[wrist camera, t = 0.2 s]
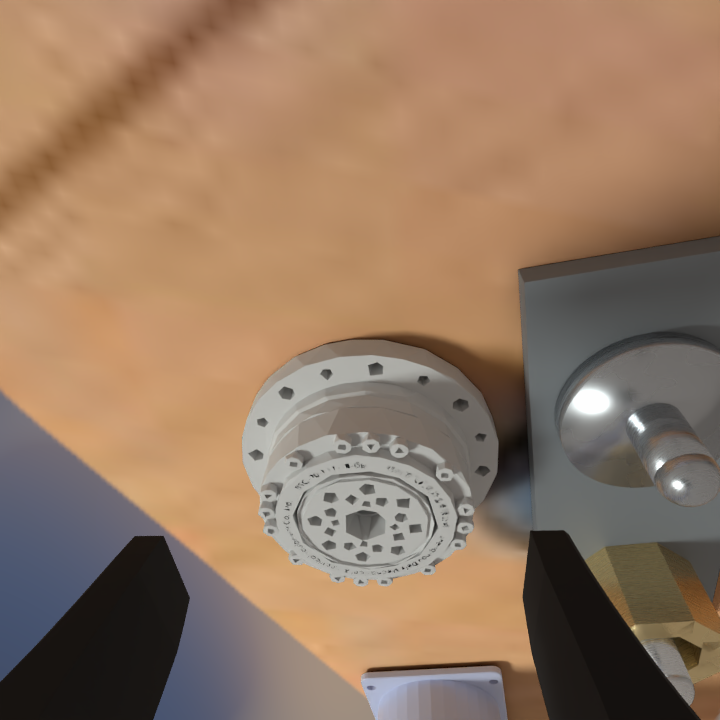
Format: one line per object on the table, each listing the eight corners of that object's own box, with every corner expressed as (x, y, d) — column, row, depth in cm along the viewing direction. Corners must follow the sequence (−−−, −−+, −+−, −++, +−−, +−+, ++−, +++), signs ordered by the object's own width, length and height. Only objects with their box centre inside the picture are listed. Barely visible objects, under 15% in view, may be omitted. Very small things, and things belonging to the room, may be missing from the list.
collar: (681, 609, 25) (718, 688, 22) (569, 616, 26) (591, 694, 23) (693, 539, 23) (738, 618, 20) (568, 549, 23) (593, 627, 20)
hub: (722, 458, 20) (793, 556, 16) (555, 476, 21) (588, 572, 17) (750, 318, 17) (845, 401, 13) (552, 346, 18) (592, 431, 14)
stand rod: (644, 590, 25) (700, 718, 20) (607, 592, 25) (654, 720, 20) (647, 567, 24) (705, 696, 19) (609, 570, 24) (657, 698, 19)
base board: (695, 612, 27) (705, 631, 26) (538, 622, 28) (542, 641, 27) (775, 226, 16) (795, 239, 16) (518, 269, 18) (524, 282, 17)
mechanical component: (472, 528, 25) (516, 343, 19) (486, 619, 21) (545, 422, 16) (257, 512, 25) (240, 325, 20) (233, 599, 21) (205, 399, 16)
